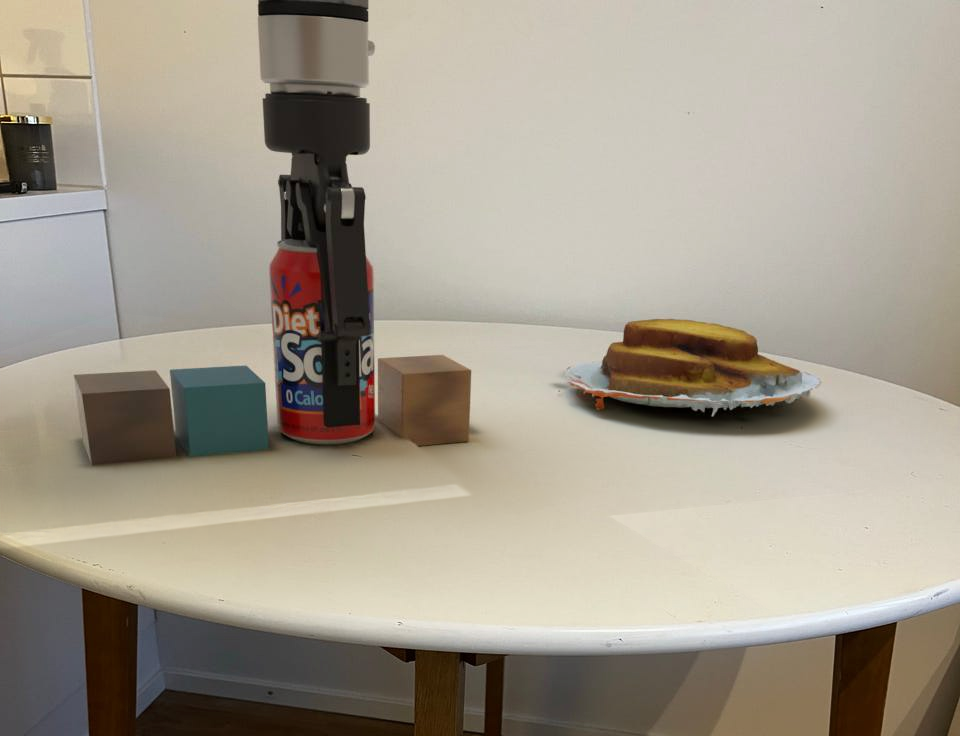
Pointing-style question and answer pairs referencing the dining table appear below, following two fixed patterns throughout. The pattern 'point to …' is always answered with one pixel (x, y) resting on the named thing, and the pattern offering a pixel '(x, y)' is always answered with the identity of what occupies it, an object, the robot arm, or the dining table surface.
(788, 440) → the dining table surface
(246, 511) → the dining table surface
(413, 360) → the oak block
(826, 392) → the dining table surface
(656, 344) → the food on plate
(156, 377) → the walnut block
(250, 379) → the teal block
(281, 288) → the soda can
